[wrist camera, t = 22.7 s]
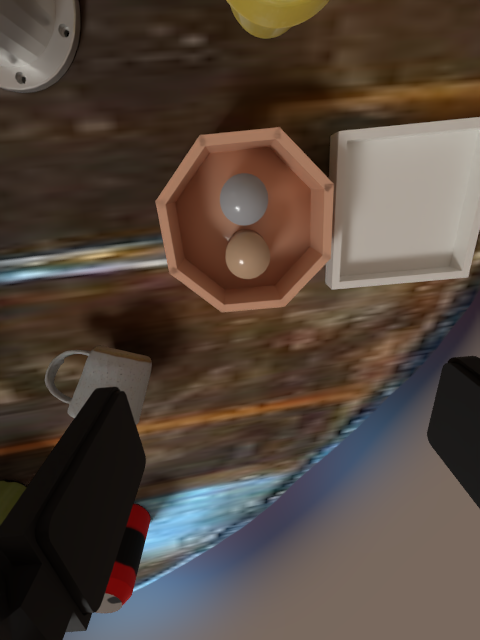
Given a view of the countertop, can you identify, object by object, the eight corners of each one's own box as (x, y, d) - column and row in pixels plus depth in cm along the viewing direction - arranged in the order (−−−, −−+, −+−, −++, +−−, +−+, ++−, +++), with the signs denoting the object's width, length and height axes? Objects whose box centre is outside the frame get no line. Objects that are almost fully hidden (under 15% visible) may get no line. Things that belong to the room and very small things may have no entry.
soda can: (158, 522, 53) (139, 609, 42) (122, 532, 54) (94, 620, 43) (137, 497, 50) (109, 583, 39) (99, 508, 51) (62, 596, 40)
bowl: (158, 148, 29) (143, 140, 24) (318, 132, 28) (336, 120, 23) (185, 298, 35) (177, 316, 30) (315, 286, 35) (329, 303, 30)
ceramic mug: (146, 353, 40) (164, 360, 33) (129, 413, 39) (145, 432, 32) (58, 334, 34) (60, 338, 28) (35, 404, 33) (32, 425, 27)
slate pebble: (219, 177, 29) (217, 175, 26) (262, 172, 29) (266, 170, 25) (224, 223, 31) (222, 227, 27) (265, 219, 31) (269, 223, 27)
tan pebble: (224, 230, 31) (223, 236, 28) (265, 227, 31) (269, 232, 28) (228, 270, 33) (227, 280, 29) (267, 267, 33) (271, 276, 29)
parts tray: (330, 135, 28) (338, 131, 26) (485, 120, 28) (507, 114, 26) (325, 282, 35) (331, 289, 32) (452, 271, 34) (467, 277, 32)
